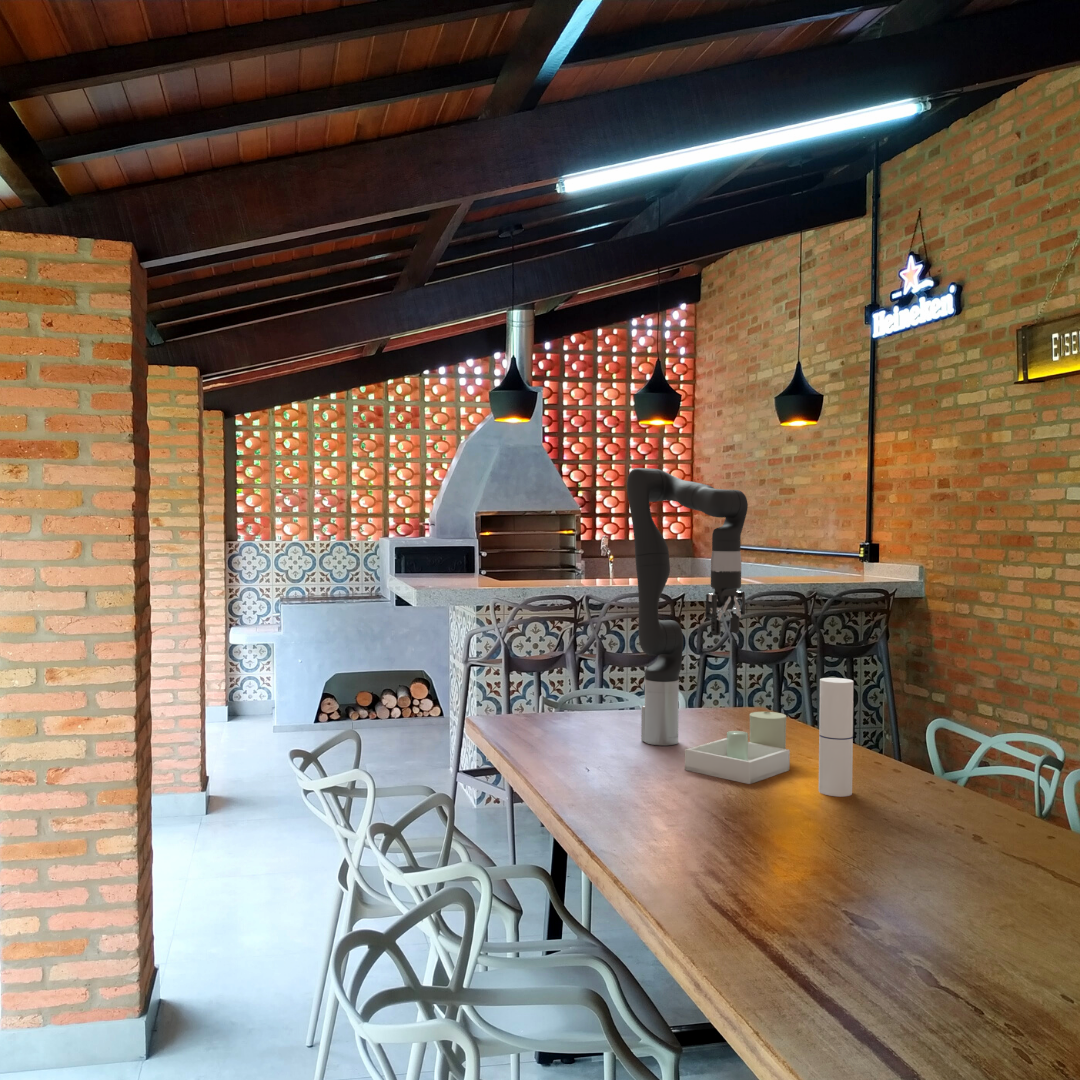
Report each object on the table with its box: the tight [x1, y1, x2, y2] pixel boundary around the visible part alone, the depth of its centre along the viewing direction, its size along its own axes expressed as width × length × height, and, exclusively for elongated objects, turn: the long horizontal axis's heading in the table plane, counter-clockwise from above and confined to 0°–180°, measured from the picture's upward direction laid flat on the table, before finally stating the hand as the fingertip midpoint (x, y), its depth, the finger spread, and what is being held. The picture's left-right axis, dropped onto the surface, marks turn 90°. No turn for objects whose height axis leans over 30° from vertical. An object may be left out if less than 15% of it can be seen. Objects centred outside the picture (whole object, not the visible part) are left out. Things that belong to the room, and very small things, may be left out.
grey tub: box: [684, 737, 791, 785], centre depth 234 cm, size 18×18×5 cm
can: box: [749, 711, 787, 749], centre depth 244 cm, size 9×9×12 cm
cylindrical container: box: [818, 677, 854, 798], centre depth 215 cm, size 7×7×25 cm
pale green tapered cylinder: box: [726, 730, 749, 761], centre depth 234 cm, size 5×5×8 cm
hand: (725, 633), depth 242 cm, fingers open, 8 cm apart
